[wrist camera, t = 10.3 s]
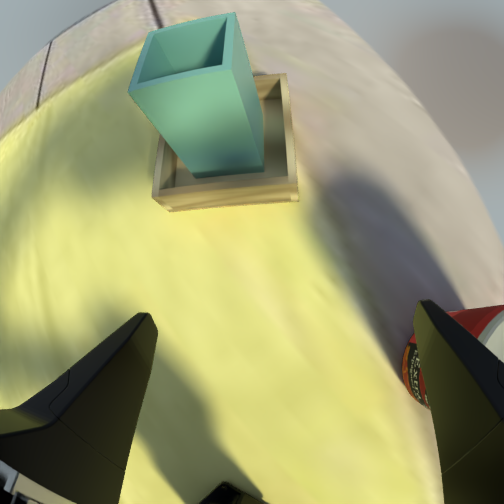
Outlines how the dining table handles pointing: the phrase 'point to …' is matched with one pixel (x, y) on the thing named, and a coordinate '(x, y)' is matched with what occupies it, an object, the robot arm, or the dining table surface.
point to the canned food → (474, 320)
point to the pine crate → (241, 185)
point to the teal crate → (202, 95)
